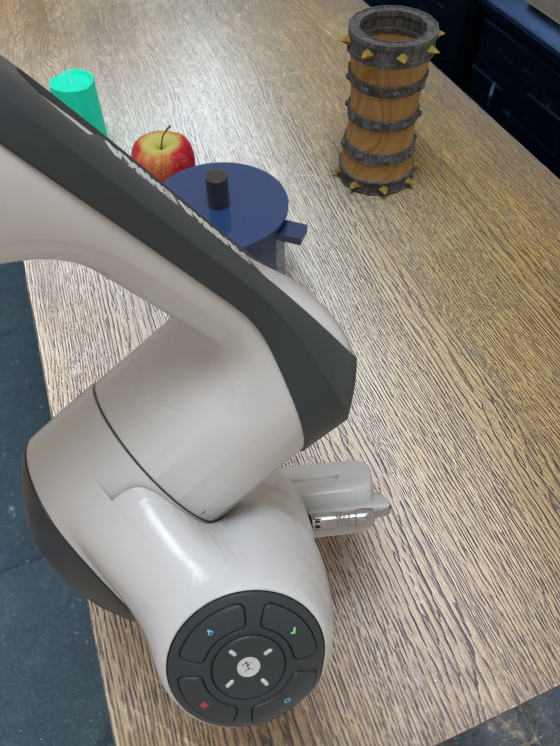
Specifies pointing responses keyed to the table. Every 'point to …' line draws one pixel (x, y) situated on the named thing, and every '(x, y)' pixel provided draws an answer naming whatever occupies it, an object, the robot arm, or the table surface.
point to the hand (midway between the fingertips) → (242, 475)
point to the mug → (384, 96)
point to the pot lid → (234, 199)
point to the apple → (163, 153)
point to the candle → (79, 95)
